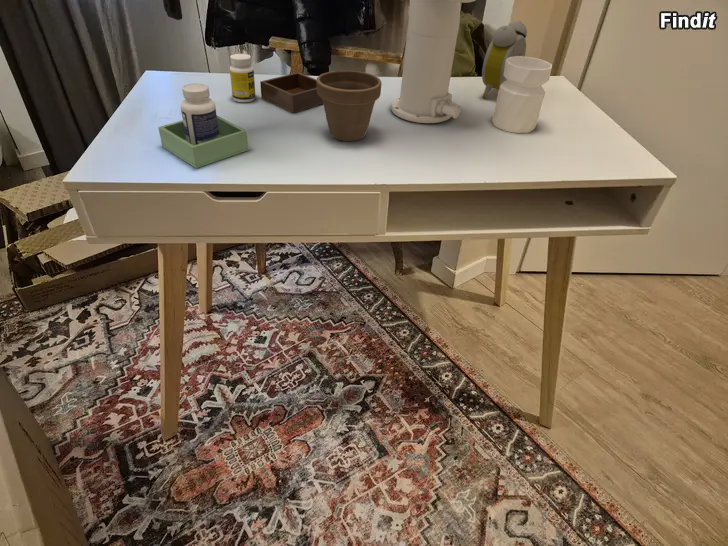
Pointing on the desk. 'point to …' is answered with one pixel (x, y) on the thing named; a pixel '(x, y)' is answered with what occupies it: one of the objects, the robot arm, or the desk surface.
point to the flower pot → (348, 102)
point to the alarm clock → (502, 53)
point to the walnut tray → (291, 92)
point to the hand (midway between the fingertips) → (202, 13)
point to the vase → (521, 94)
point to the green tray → (207, 152)
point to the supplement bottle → (242, 78)
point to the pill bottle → (199, 114)
